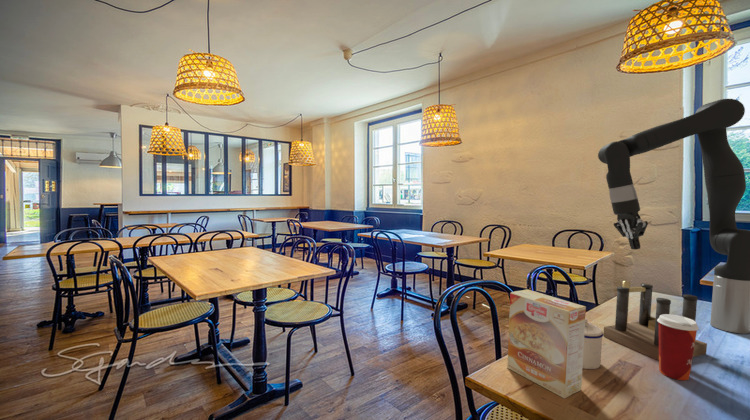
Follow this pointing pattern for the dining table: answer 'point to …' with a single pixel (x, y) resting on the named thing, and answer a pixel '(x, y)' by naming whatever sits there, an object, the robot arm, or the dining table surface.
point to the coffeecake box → (546, 341)
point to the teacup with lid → (592, 346)
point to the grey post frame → (642, 301)
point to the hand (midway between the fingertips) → (635, 248)
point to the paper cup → (676, 345)
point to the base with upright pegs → (648, 336)
